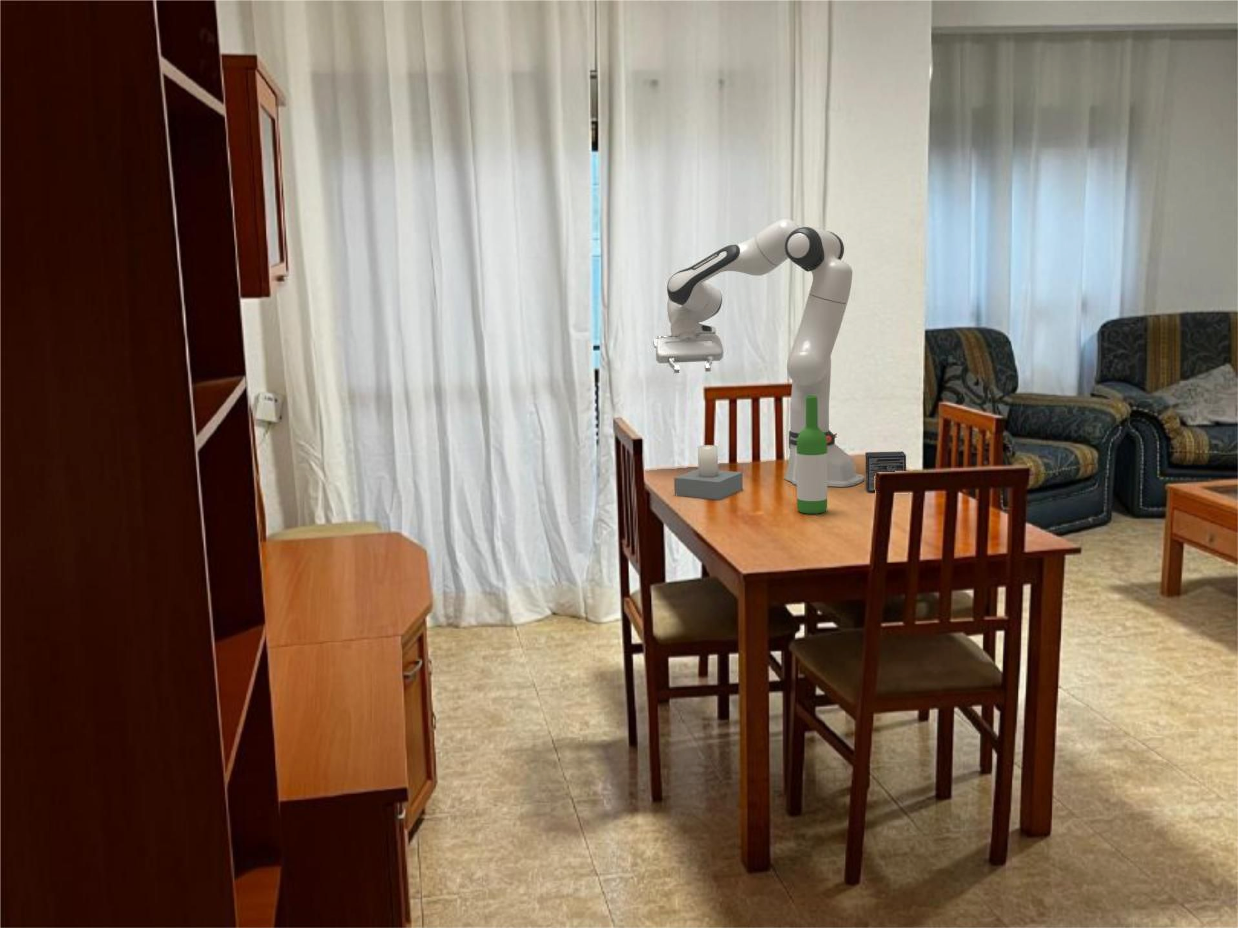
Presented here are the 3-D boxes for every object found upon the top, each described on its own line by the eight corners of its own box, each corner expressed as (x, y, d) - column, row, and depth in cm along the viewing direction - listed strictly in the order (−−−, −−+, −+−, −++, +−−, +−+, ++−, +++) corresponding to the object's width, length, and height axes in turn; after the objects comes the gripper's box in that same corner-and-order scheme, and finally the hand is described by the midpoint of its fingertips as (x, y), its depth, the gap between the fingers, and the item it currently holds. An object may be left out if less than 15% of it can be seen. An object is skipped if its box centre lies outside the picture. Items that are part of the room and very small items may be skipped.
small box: (903, 487, 328) (903, 450, 326) (906, 492, 322) (907, 455, 320) (864, 488, 329) (865, 451, 327) (867, 493, 323) (867, 455, 321)
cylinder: (721, 473, 330) (721, 445, 328) (712, 477, 325) (711, 449, 324) (705, 472, 333) (704, 444, 331) (694, 476, 328) (694, 447, 327)
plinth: (742, 489, 332) (742, 472, 331) (718, 500, 321) (718, 482, 320) (699, 485, 340) (699, 468, 339) (674, 495, 328) (674, 477, 327)
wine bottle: (804, 516, 300) (803, 399, 294) (792, 509, 307) (791, 395, 301) (832, 513, 302) (832, 397, 296) (819, 506, 309) (819, 393, 303)
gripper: (653, 329, 352) (658, 366, 345) (720, 327, 354) (727, 362, 347) (651, 343, 357) (656, 379, 350) (717, 340, 360) (724, 376, 352)
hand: (692, 371), depth 348 cm, fingers open, 8 cm apart
